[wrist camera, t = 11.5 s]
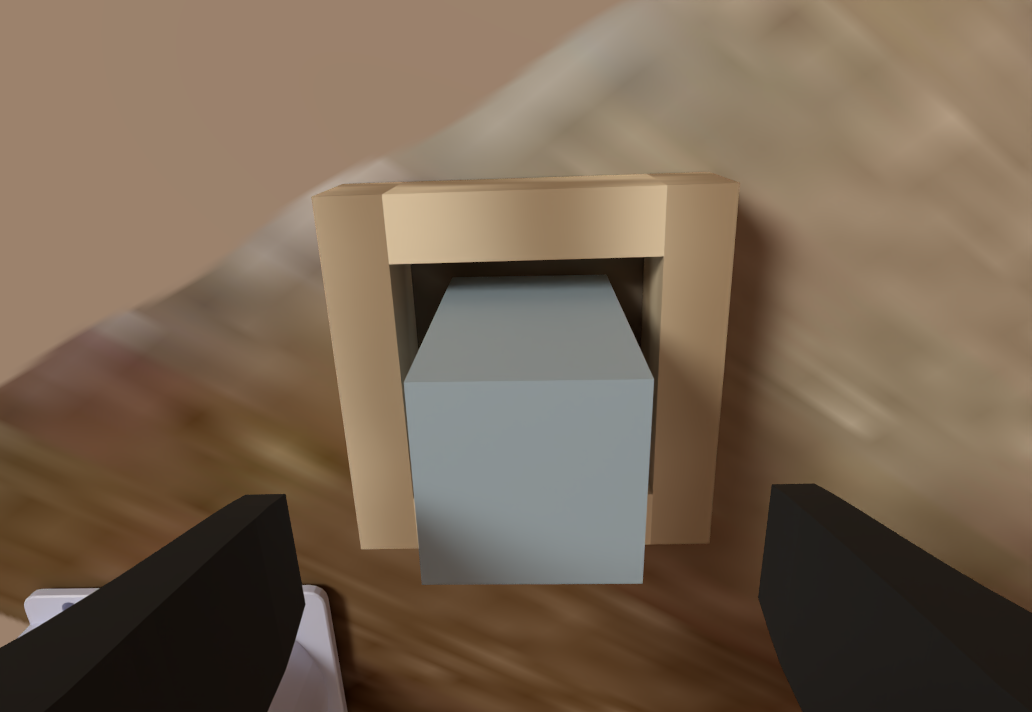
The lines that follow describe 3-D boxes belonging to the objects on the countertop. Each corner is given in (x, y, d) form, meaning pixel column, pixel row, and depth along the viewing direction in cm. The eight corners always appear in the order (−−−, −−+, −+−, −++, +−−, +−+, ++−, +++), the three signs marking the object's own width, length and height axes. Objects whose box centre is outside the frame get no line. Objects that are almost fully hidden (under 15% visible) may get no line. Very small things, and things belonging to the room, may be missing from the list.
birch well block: (381, 495, 19) (361, 549, 17) (342, 184, 16) (311, 197, 14) (686, 490, 19) (709, 543, 17) (708, 172, 16) (739, 182, 14)
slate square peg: (460, 415, 18) (422, 584, 12) (452, 277, 17) (403, 382, 10) (602, 414, 18) (642, 583, 12) (606, 274, 17) (654, 379, 10)
